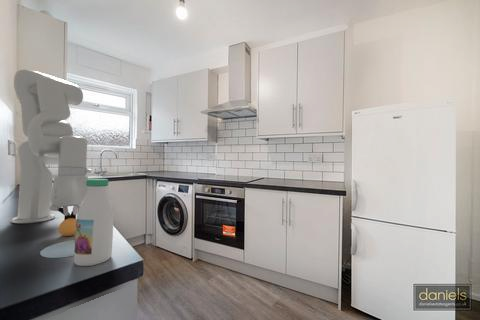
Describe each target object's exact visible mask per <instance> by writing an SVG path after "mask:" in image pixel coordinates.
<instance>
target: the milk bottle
mask: <svg viewBox="0 0 480 320" xmlns="http://www.w3.org/2000/svg"><path fill="white" fill-rule="evenodd" d="M86 188H87V193H86V196H85V198H84V200H83V202H82V203H81V205H79V206H80V207H79V210H78V213H77V214H76V219H77V220H76V233H75V234H74V236H75V238H74V240H75V250H74V256H73V263H74V264H75V265H76V266H78V267H89V266H90V267H91V266H96V265H100V264H102V263H105V262H107V261H108V260H110V259H111V258H112V255H113V237H114V236H113V235H114V207H113V204H112V201H111V199H110V198H109V195H108V188H109V179H107V178H88V179H87V181H86Z"/></svg>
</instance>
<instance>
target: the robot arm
mask: <svg viewBox="0 0 480 320" xmlns="http://www.w3.org/2000/svg"><path fill="white" fill-rule="evenodd" d="M13 89H14V92H15V94H16V96H17V99H18V101H19V103H20V109H21V111H20V112H21V124H22V125H21V126H22V131H23V134H24V136H25V137H27V140H26V141H23V142H21V144H20V145H19V146H18V151H17V152H18V159H19V167H20V171H19V172H20V174H19V191H18V205H17V206H18V208H17V216H15V217H12V218H11V223H12V224H13V223H14V224H34V223H40V222H42V223H43V222H47V221H50V220H53V219H55V218H56V214H55V213H52V212H53V211H54V212H59V213H61V215H63V216H64V219H63V221H64V220H66V219H69V218H74V219H77V213H78V210H79V207H80V205H81V203H82V202H83V200H84V198H85V196H86V193H87V188H86V181H87V179H89V177H88V175H87V174H89V173H90V174H91V172H92V169H91V168H87V157H88V155H87V154H88V140H87V139H86V138H85V137H84V136H83V137H82V136H77V135H74V132H73V127H72V125H71V124H70V123H69V122H68V121H66V120H67V119H69V118H70V116H71V110H70V107H69V105H72V106H78V105H81V103H82V102H83V100H84V94H83V93H84V92H83V90H82V89H81V87H80V86H79V85H77V84H74V83H73V82H70V81H68V80H64V79H62V78H58V77H55V76H52V75H49V74H46V73H42V72H40V71H36V70H32V69H31V70H30V69H18V70H17V71H16V72H15V73H14V77H13ZM50 165H51V166H53V165H55V166H58V167H57V168H58V169H57V170H58V171H57V175H55V176H54V179H53V173H52V172H51V170H50V169H49V168H48V166H50ZM68 207H72V211H71V213H70V212H69V209H68Z"/></svg>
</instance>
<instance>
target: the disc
mask: <svg viewBox="0 0 480 320" xmlns="http://www.w3.org/2000/svg"><path fill="white" fill-rule="evenodd" d="M74 250H75V239H73V240H71V239H70V240H65V241H61V242H58V243H55V244H50V245H49V246H47V247H45V248H43V249H42V250H40V252H39V254H40V256H41V257H43V258H49V259H57V258H58V259H60V258H69V257H74Z"/></svg>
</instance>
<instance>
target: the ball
mask: <svg viewBox="0 0 480 320" xmlns="http://www.w3.org/2000/svg"><path fill="white" fill-rule="evenodd" d="M76 220H77V218H76V219H74V218H69V219H66V220H64V219H63V220H62V221H61V222H60V224H59V226H58V232H59V234H61V235H62V236H64V237H70V236H71V237H72V236H75V233H76Z"/></svg>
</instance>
